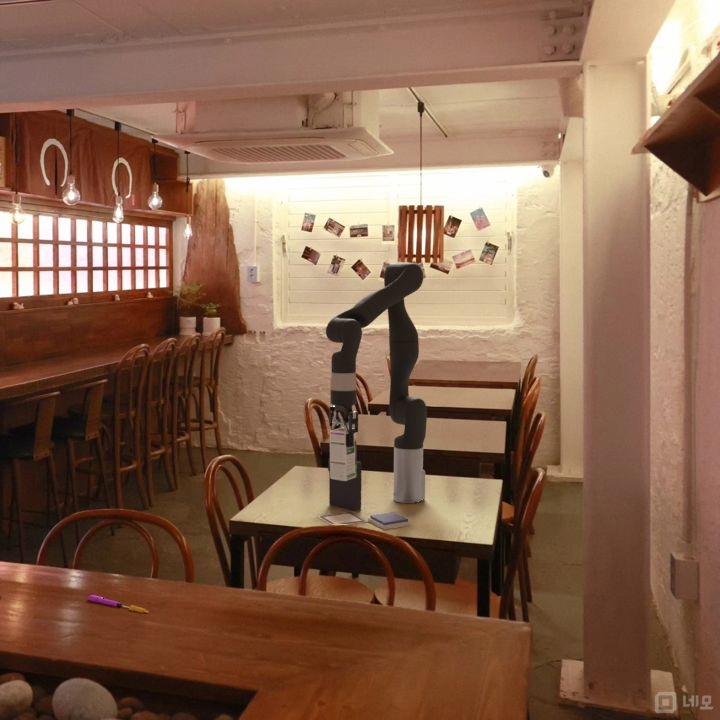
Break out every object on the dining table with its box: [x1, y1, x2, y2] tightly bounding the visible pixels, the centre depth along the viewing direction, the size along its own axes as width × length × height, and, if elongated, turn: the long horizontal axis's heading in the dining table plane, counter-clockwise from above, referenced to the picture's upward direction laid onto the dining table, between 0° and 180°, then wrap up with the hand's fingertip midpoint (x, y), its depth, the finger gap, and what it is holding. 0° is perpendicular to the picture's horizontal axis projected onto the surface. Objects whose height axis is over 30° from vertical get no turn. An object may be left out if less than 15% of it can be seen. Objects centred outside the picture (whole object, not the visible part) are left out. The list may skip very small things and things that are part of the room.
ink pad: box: [367, 511, 412, 530], centre depth 226 cm, size 9×9×2 cm
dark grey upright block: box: [327, 457, 362, 513], centre depth 241 cm, size 11×4×15 cm, turn 47°
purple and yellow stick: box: [87, 594, 150, 614], centre depth 166 cm, size 3×1×16 cm
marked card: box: [318, 511, 368, 525], centre depth 229 cm, size 11×11×1 cm
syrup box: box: [329, 426, 358, 481], centre depth 228 cm, size 6×6×14 cm
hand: (343, 444), depth 227 cm, fingers closed on syrup box, 7 cm apart
